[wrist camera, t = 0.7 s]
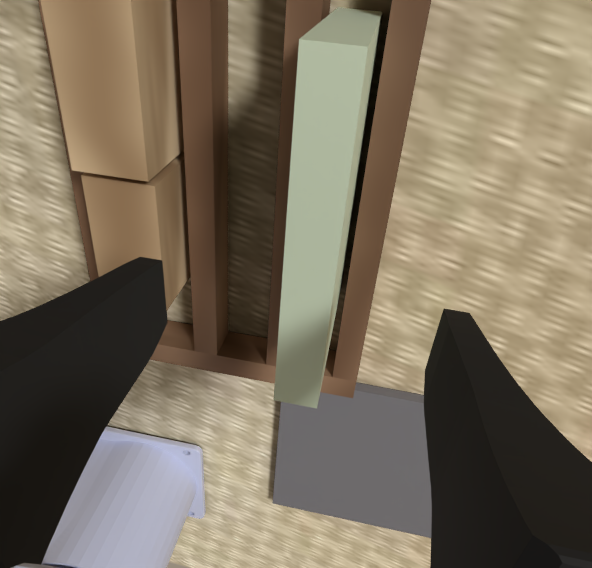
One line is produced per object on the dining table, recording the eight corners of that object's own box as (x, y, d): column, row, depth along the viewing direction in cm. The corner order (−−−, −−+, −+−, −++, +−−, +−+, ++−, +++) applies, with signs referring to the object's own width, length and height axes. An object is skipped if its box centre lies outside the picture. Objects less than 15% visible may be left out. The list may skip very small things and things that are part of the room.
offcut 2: (141, 256, 26) (102, 300, 23) (128, 142, 23) (81, 175, 20) (197, 265, 26) (166, 312, 23) (192, 151, 22) (154, 186, 19)
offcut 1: (127, 134, 23) (71, 170, 19) (109, -24, 19) (37, -17, 15) (191, 142, 22) (148, 181, 19) (184, -16, 19) (129, -7, 15)
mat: (274, 495, 35) (272, 503, 35) (285, 369, 28) (283, 376, 28) (480, 540, 34) (481, 549, 33) (543, 418, 27) (546, 426, 26)
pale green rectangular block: (309, 281, 25) (273, 400, 18) (338, 7, 18) (299, 38, 12) (341, 287, 25) (316, 408, 18) (382, 11, 18) (368, 46, 12)
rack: (120, 327, 29) (103, 350, 27) (37, -208, 16) (-4, -225, 15) (356, 371, 27) (353, 398, 26) (463, -182, 15) (470, -199, 13)
